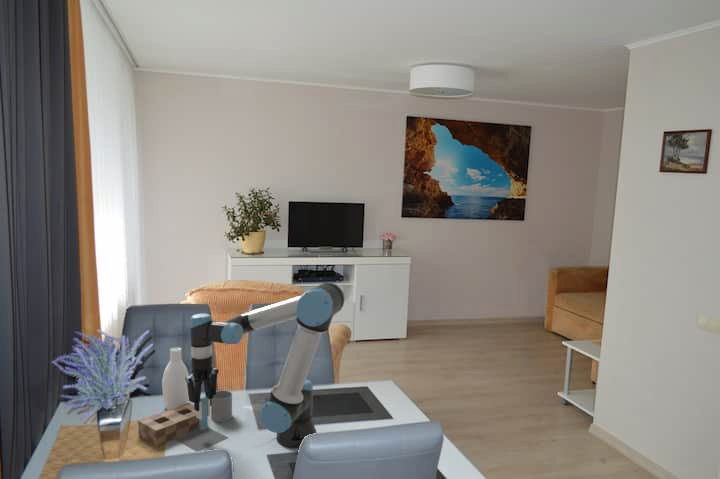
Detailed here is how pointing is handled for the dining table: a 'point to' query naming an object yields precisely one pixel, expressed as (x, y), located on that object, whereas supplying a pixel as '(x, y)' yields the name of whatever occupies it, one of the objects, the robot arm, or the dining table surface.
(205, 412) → the peg
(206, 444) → the mat
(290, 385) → the robot arm
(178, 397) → the bottle
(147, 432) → the block
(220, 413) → the cup
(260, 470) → the dining table surface
